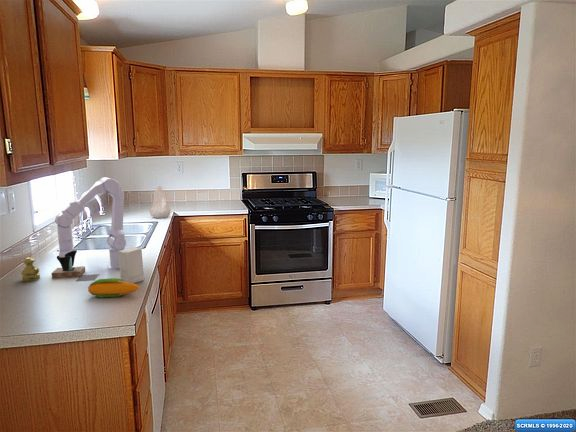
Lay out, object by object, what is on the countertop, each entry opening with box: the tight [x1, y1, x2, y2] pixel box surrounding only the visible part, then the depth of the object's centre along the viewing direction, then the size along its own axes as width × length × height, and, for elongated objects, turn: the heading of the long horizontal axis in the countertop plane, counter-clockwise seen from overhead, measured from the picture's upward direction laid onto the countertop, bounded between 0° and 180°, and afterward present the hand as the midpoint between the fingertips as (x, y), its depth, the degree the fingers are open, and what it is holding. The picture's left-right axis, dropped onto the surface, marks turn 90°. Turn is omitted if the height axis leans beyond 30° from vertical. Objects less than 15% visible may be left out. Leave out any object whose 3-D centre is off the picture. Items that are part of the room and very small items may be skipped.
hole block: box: [51, 266, 86, 279], centre depth 198 cm, size 12×8×3 cm, turn 100°
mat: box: [75, 273, 100, 282], centre depth 194 cm, size 8×9×1 cm
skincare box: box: [118, 246, 145, 284], centre depth 188 cm, size 8×6×15 cm
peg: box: [68, 258, 73, 271], centre depth 197 cm, size 3×3×9 cm
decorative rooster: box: [149, 185, 171, 219], centre depth 335 cm, size 25×16×25 cm, turn 16°
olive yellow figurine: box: [20, 257, 41, 283], centre depth 192 cm, size 7×7×10 cm
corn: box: [87, 277, 140, 298], centre depth 172 cm, size 7×8×20 cm
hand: (68, 268), depth 197 cm, fingers open, 6 cm apart
